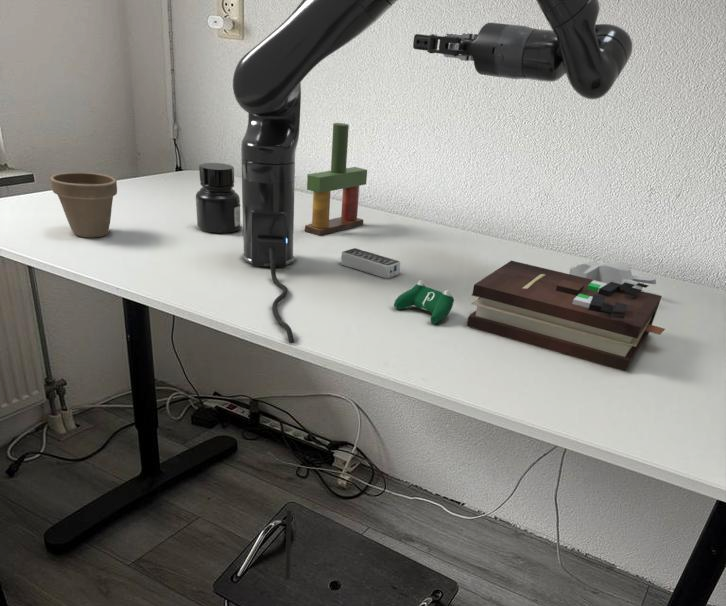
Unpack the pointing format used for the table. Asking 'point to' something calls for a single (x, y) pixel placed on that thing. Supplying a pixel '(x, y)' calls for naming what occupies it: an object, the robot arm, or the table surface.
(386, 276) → the multiport hub
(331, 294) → the table surface
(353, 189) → the rod stand
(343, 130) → the green peg on base
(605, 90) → the robot arm
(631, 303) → the decorative book
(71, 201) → the flower pot
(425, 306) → the gaming controller
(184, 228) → the table surface
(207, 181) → the ink bottle
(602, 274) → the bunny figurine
